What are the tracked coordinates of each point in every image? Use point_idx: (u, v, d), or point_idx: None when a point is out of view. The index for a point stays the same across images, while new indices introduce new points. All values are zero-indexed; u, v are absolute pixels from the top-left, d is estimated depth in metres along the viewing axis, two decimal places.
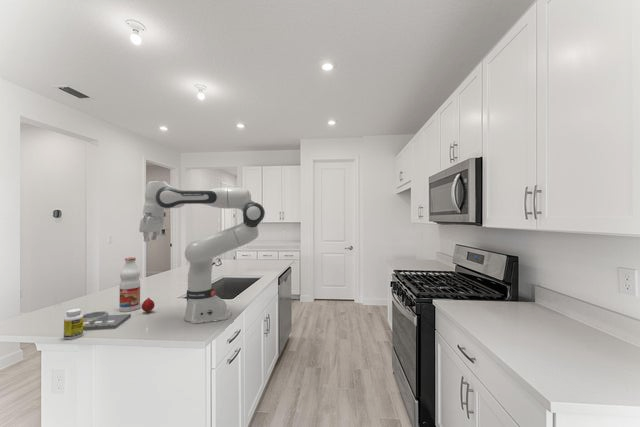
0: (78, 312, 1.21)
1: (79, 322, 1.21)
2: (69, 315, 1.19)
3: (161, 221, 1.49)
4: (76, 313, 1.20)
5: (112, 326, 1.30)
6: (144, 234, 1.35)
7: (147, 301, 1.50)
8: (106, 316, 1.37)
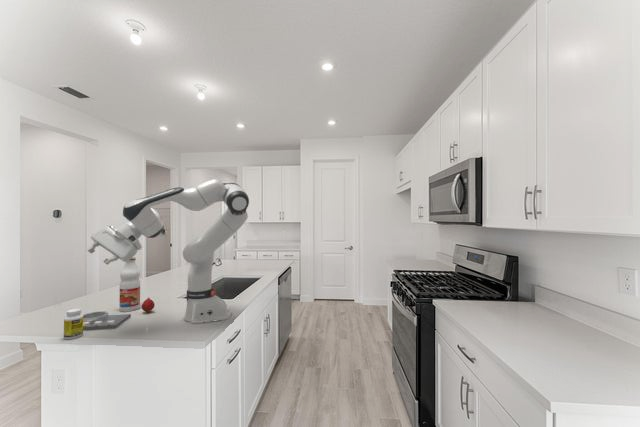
0: (78, 312, 1.21)
1: (79, 322, 1.21)
2: (69, 315, 1.19)
3: (128, 247, 1.25)
4: (76, 313, 1.20)
5: (112, 326, 1.30)
6: None
7: (147, 301, 1.50)
8: (106, 316, 1.37)
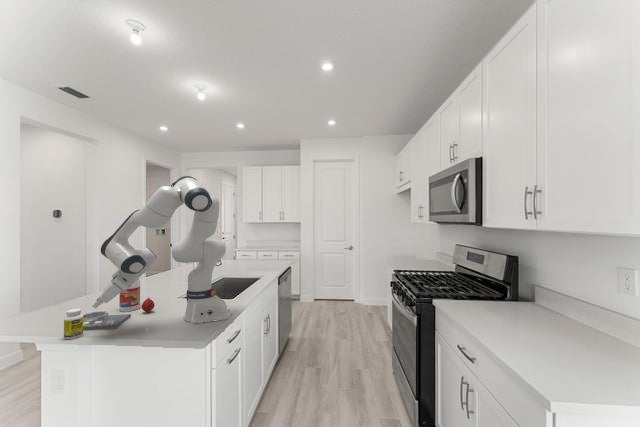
0: (78, 312, 1.21)
1: (79, 322, 1.21)
2: (69, 315, 1.19)
3: None
4: (76, 313, 1.20)
5: (112, 326, 1.30)
6: None
7: (147, 301, 1.50)
8: (106, 316, 1.37)
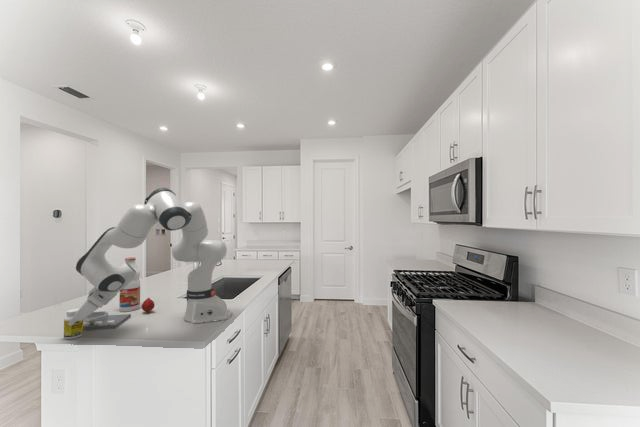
0: None
1: (79, 322, 1.21)
2: (69, 315, 1.19)
3: None
4: None
5: (112, 326, 1.30)
6: None
7: (147, 301, 1.50)
8: (106, 316, 1.37)
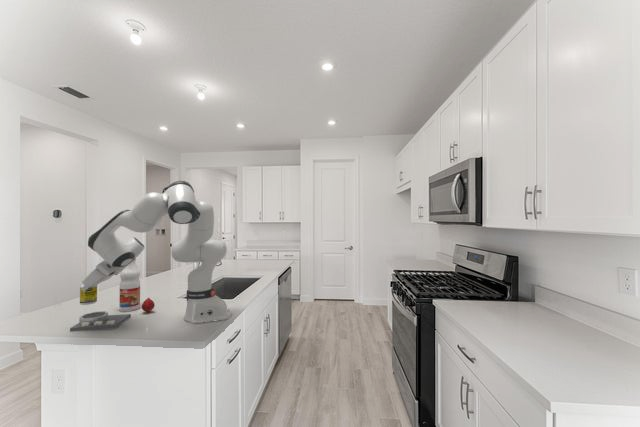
0: None
1: (92, 290, 1.31)
2: None
3: None
4: None
5: (112, 326, 1.30)
6: None
7: (147, 301, 1.50)
8: (106, 316, 1.37)
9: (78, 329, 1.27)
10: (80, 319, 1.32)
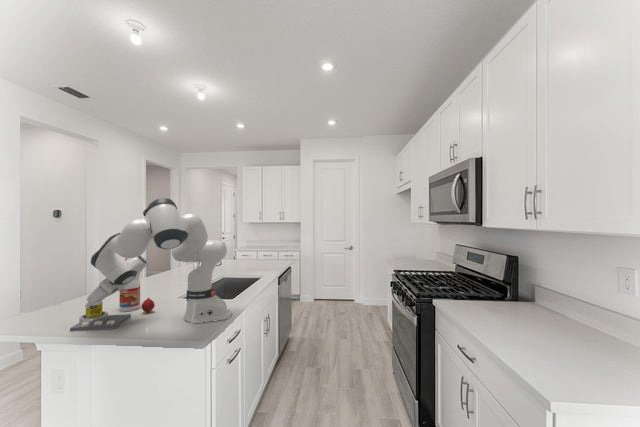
0: None
1: (97, 308, 1.35)
2: None
3: None
4: None
5: (112, 326, 1.30)
6: None
7: (147, 301, 1.50)
8: (106, 316, 1.37)
9: (78, 329, 1.27)
10: (80, 319, 1.32)
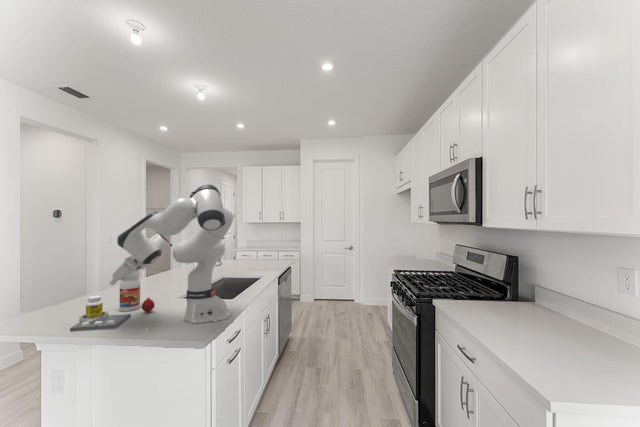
0: (97, 299, 1.35)
1: (97, 308, 1.35)
2: (89, 301, 1.34)
3: None
4: (94, 299, 1.34)
5: (112, 326, 1.30)
6: None
7: (147, 301, 1.50)
8: (106, 316, 1.37)
9: (78, 329, 1.27)
10: (80, 319, 1.32)
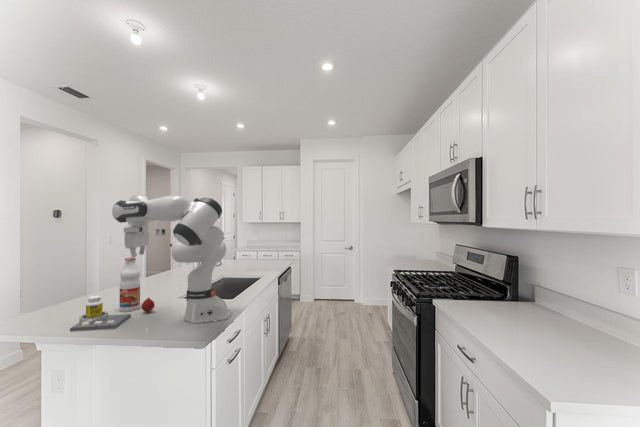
0: (97, 299, 1.35)
1: (97, 308, 1.35)
2: (89, 301, 1.34)
3: None
4: (94, 299, 1.34)
5: (112, 326, 1.30)
6: None
7: (147, 301, 1.50)
8: (106, 316, 1.37)
9: (78, 329, 1.27)
10: (80, 319, 1.32)
